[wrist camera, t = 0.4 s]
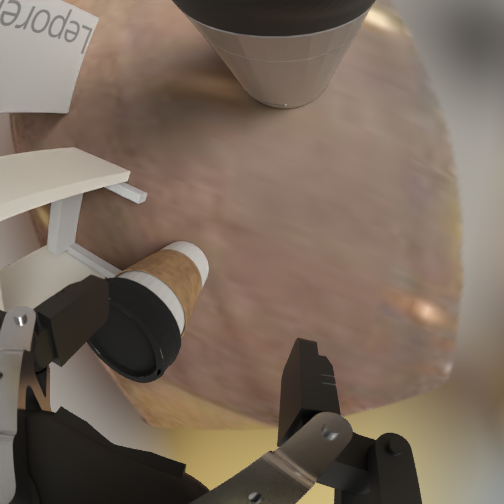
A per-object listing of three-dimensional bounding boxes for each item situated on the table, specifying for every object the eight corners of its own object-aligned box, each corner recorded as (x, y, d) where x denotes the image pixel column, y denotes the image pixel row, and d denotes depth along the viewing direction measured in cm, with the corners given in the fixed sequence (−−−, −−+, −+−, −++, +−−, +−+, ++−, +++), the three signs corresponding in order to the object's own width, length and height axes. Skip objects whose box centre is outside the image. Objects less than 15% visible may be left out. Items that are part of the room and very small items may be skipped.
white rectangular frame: (74, 146, 28) (-61, 169, 9) (152, 179, 28) (-6, 232, 9) (56, 246, 33) (-45, 308, 14) (122, 288, 33) (23, 386, 15)
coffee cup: (201, 309, 33) (152, 401, 19) (143, 274, 32) (69, 345, 18) (233, 254, 30) (186, 341, 16) (167, 216, 29) (78, 270, 15)
